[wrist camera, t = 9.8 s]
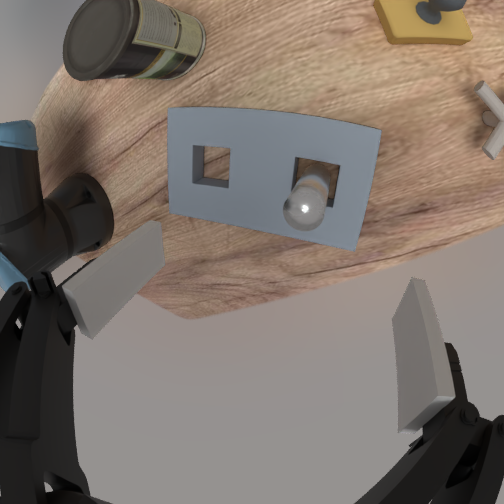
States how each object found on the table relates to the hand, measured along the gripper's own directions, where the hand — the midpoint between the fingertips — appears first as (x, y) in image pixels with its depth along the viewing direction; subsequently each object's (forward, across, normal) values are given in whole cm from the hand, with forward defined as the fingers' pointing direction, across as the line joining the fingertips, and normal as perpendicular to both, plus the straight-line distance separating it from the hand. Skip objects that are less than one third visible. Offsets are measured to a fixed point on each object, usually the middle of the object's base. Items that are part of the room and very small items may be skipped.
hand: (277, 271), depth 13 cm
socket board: (+21, -6, 0) cm, 21 cm away
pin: (+21, 0, 0) cm, 21 cm away
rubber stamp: (+21, +10, +22) cm, 32 cm away
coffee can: (+21, -20, +16) cm, 33 cm away
